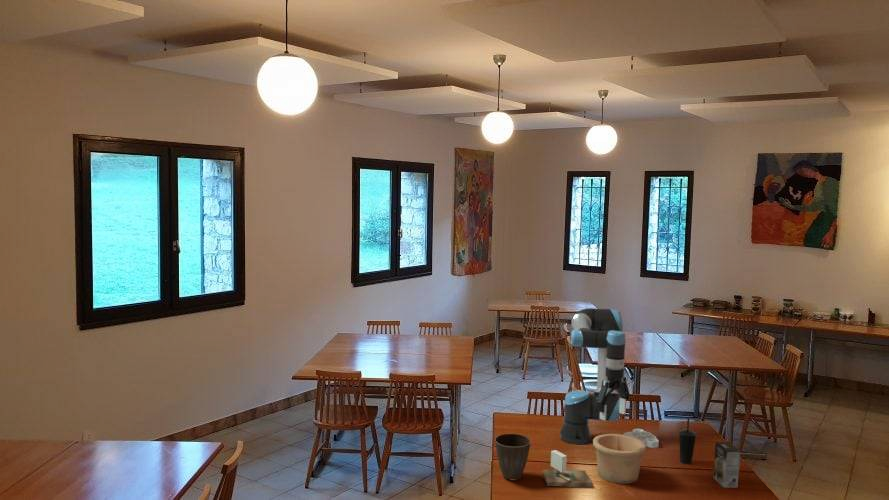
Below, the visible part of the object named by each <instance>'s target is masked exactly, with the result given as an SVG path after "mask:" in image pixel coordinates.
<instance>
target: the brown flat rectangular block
mask: <svg viewBox="0 0 889 500" xmlns="http://www.w3.org/2000/svg"><path fill="white" fill-rule="evenodd" d="M560 474H562V475H563V476H565V477H567V478H569V479H570V481H568V480H566V479H564V478H563V477H561V476H559V475H556V469H542V476H543V475H544V477H543V479H544V478H545V479H544V482H545V481H546V482H545V484H546V483H547V485H546V486H565V487H564V488H585V489H586V488H590V489H591V488H592V481H591V480H590V478H589V475H588V474H587V472H586V470H575V469H573V470H572V469H571V470H570V469H566V471H565V472H560Z"/></svg>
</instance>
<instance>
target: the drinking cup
mask: <svg viewBox="0 0 889 500" xmlns="http://www.w3.org/2000/svg"><path fill="white" fill-rule="evenodd" d="M686 423H687V424H686V428H685V429H680V430H678V436H679V440H678V442H679V460H680V461H679V462H680V463H682V464H684V465H691V464H692V462H693V455H694V449H695V445H696V444H695V443H696V437H697V432H695V431H693V430H691V429H689V427H690V418H687V422H686Z"/></svg>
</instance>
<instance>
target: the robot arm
mask: <svg viewBox="0 0 889 500" xmlns="http://www.w3.org/2000/svg"><path fill="white" fill-rule="evenodd" d="M622 319H623V318H622V314H621V312H620V310H618V309H611V308H593V307H592V308H589V307H587V308H583V309H580V310H579V311H577V312H575V313H574V314H573V315H572V317H571V327H572V328H573V330H571V333H570V334H571V335H570V336H571V337H570V343H571V346H572V347H576V348H587V349H589V348H592V349H597V380H596V381H597V382H596V384H597V385H596V389H594V391H593V394H591V393H590V392H589V391H587V390H583V389H578V390H572V391H571V390H570V391H569V392H567V393H566V395H565V398H564V417H563V424H562V427H561V429H560V432H559V438H560V437H561V439H563V440H564V441H563V440H562V441H563V442H565V441H567V442H566V443H568V442H570V443H569V444H572V443H574V445H585V444H589V443H591V441H592V434H591V433H592V432H591V430H590V426H589V420H591V421H592V420H593V421H604V422H605V421H606V422H616V421H618V419H619V417H620V414H622V415H626V406H627V400H629V399H630V396H631V394H630V390H629V386H628V383H627V377H626V376H624V375H625V369H624V368H625V353H626V352H625V351H626V343H627V341H626V333H625V332H624V330H623V320H622ZM561 439H560V440H561Z"/></svg>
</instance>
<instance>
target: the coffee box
mask: <svg viewBox="0 0 889 500" xmlns="http://www.w3.org/2000/svg"><path fill="white" fill-rule="evenodd" d="M714 448H715V449H714V464H713V480H715V481H716V482H717V483H718V484H719V485H720V486H721V487H722V488H723V489H724V488H725V489H727V488H729V489H731V488H738V486H739V473H740V461H741V460H740V459H741V458H740V457H741V450H740V448H737V447H736V446H735V445H734V444H733V443H731V442H724V441H715V446H714Z"/></svg>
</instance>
